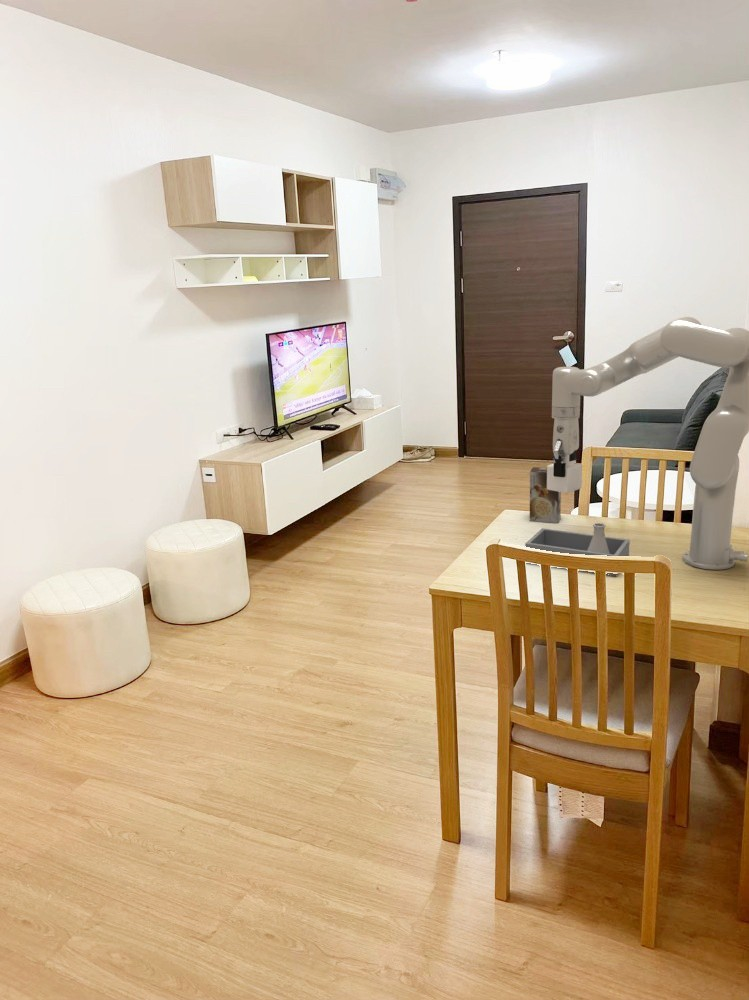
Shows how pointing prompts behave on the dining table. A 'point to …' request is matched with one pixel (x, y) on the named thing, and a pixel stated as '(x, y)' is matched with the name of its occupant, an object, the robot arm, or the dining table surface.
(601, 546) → the flask
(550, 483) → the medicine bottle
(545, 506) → the coffee box
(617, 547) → the box
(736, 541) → the dining table surface
